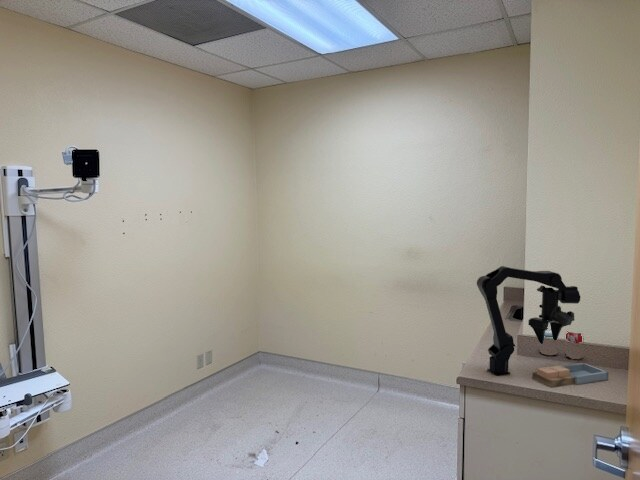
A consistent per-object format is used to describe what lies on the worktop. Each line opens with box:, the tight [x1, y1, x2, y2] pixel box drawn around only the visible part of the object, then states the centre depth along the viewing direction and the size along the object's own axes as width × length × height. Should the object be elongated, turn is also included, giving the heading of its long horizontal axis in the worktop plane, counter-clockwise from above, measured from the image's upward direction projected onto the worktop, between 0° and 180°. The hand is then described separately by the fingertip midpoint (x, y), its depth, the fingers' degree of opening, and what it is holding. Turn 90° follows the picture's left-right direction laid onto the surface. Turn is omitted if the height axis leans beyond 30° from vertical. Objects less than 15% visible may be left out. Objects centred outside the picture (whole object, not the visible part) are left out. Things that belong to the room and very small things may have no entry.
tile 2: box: [548, 365, 570, 377], centre depth 168 cm, size 5×5×2 cm
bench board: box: [532, 371, 576, 388], centre depth 167 cm, size 11×9×2 cm
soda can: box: [565, 330, 582, 344], centre depth 192 cm, size 7×7×12 cm
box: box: [561, 362, 609, 386], centre depth 171 cm, size 15×11×3 cm
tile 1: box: [536, 366, 558, 379], centre depth 166 cm, size 5×5×2 cm
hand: (548, 341), depth 175 cm, fingers open, 9 cm apart
